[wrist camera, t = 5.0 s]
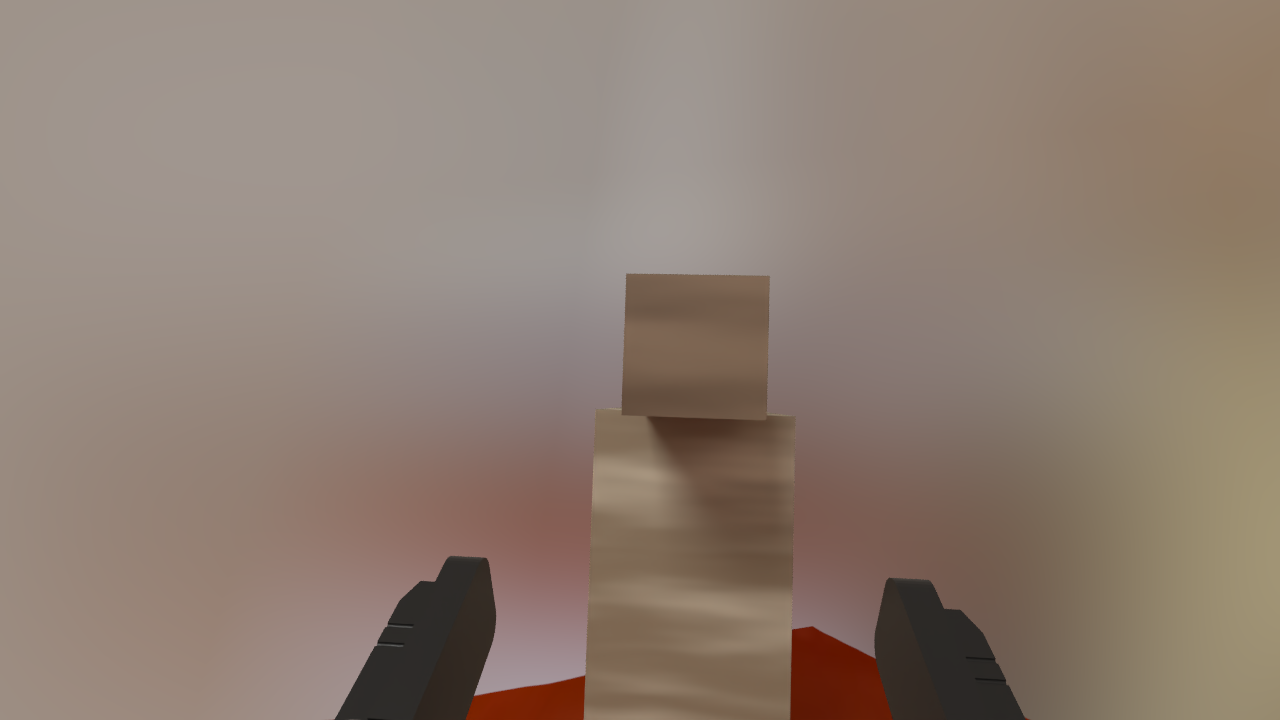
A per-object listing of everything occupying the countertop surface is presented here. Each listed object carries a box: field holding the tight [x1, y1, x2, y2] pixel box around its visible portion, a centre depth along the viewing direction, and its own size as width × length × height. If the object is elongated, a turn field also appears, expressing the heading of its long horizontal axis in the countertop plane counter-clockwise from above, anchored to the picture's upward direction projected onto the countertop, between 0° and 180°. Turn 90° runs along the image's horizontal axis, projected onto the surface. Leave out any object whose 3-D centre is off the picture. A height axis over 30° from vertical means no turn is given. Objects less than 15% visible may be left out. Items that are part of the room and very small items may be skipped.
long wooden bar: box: [621, 274, 770, 421], centre depth 28 cm, size 21×4×4 cm, turn 175°
